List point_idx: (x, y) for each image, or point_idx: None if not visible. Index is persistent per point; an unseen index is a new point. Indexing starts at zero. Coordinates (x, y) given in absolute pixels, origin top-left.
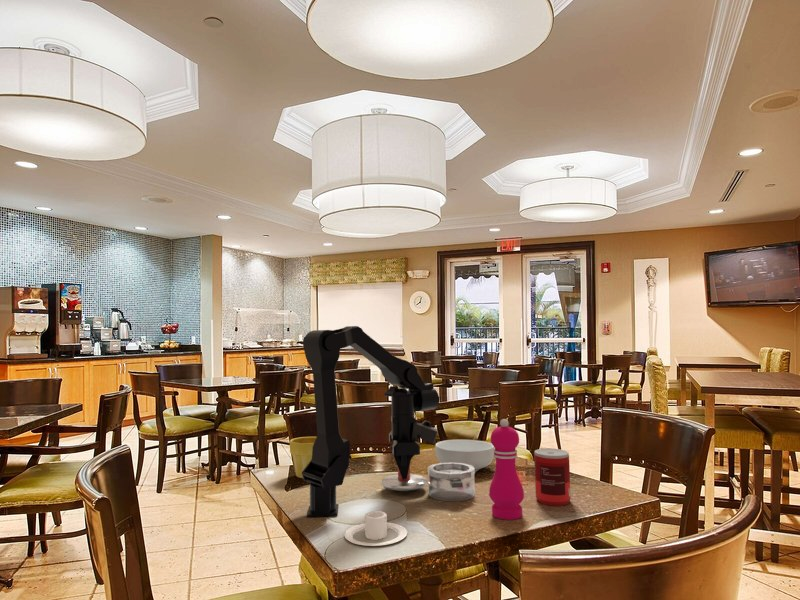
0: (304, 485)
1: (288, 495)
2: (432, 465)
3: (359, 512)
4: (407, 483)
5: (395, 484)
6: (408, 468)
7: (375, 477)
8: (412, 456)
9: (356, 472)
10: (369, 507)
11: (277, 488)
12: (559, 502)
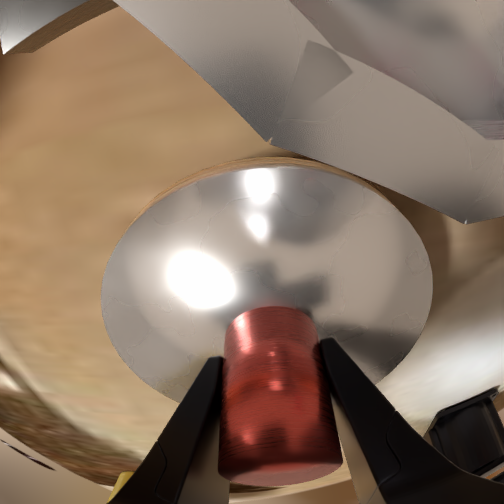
0: (233, 483)
1: (315, 481)
2: (351, 132)
3: (498, 360)
4: (374, 308)
5: (381, 360)
6: (384, 396)
7: (86, 397)
8: (484, 480)
9: (67, 427)
10: (475, 354)
11: (262, 494)
12: None
